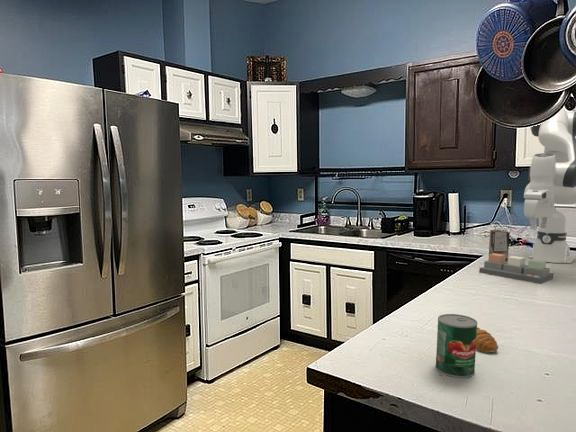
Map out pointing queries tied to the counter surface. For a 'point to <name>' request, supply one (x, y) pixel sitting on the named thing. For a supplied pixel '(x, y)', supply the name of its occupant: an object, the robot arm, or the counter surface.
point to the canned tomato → (456, 345)
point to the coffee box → (499, 242)
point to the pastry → (485, 342)
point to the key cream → (516, 261)
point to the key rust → (497, 258)
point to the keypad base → (516, 272)
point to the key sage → (537, 264)
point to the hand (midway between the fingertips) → (538, 228)
